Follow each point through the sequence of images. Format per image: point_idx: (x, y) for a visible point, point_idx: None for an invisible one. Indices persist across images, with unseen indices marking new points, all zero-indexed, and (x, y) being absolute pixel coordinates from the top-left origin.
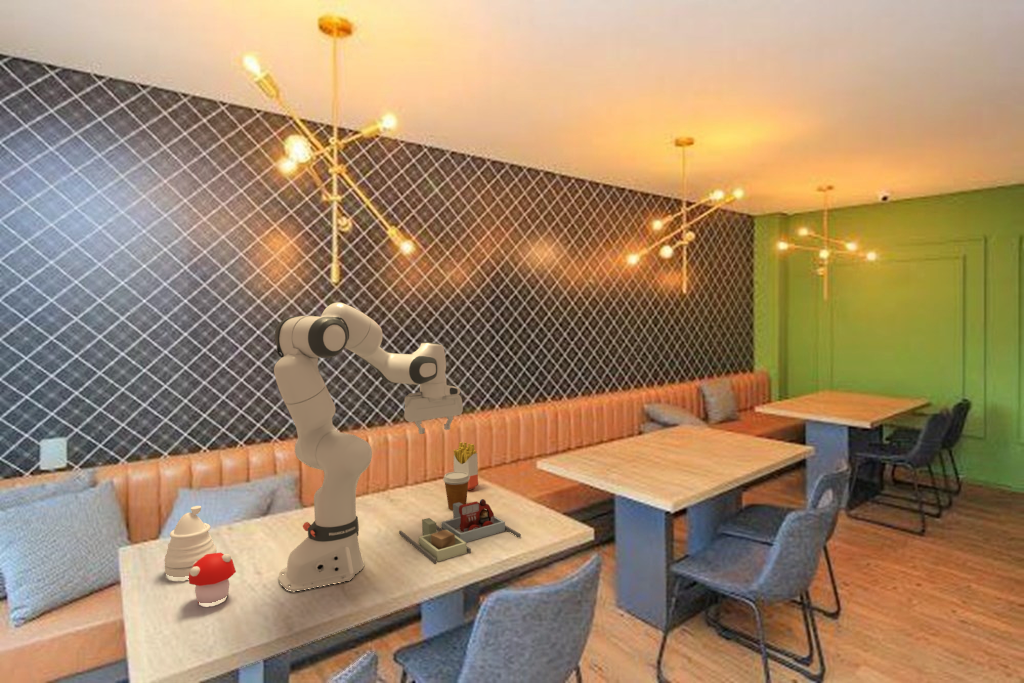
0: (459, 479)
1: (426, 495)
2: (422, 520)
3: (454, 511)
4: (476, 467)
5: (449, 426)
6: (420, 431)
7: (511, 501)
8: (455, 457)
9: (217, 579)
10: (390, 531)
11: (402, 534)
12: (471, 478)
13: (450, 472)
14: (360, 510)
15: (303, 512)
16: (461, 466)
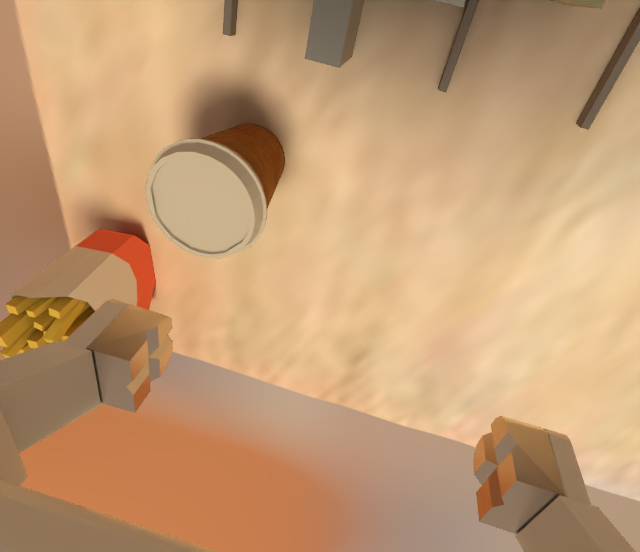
0: (217, 157)
1: (263, 309)
2: (603, 1)
3: (347, 48)
4: (61, 261)
5: (98, 323)
6: (570, 469)
7: (60, 30)
8: None
9: None
10: (571, 177)
11: (608, 92)
12: (109, 246)
13: (200, 255)
14: (471, 371)
15: None
16: None
